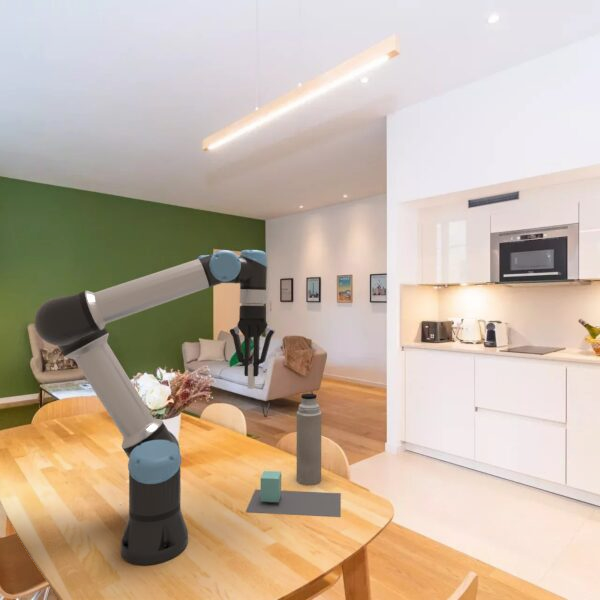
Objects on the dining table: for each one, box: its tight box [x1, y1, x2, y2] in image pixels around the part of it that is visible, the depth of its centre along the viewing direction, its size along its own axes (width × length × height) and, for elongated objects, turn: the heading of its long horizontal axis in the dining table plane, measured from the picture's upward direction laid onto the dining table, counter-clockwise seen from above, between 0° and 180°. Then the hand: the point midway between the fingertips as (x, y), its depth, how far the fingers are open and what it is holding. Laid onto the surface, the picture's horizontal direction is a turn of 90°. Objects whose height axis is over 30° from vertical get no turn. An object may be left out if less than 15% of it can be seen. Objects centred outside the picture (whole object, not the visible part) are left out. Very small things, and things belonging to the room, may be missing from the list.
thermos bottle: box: [296, 393, 322, 487], centre depth 138 cm, size 8×8×28 cm
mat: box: [245, 488, 342, 518], centre depth 123 cm, size 14×26×1 cm, turn 85°
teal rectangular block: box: [260, 470, 282, 502], centre depth 124 cm, size 5×5×7 cm
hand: (251, 387), depth 122 cm, fingers closed
